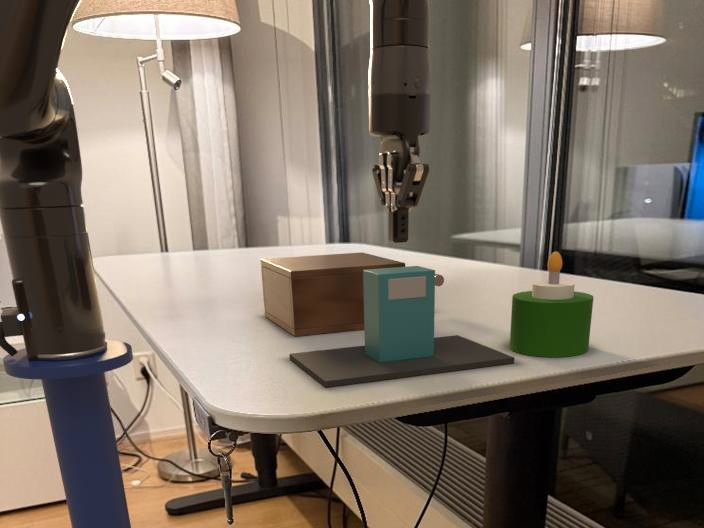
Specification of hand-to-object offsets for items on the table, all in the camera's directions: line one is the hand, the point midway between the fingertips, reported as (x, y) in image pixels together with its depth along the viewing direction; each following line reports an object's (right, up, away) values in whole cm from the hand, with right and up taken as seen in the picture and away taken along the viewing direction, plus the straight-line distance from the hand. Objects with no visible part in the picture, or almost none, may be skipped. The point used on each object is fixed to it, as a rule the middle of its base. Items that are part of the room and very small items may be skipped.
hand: (398, 241), depth 95 cm
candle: (+15, -17, -17) cm, 29 cm away
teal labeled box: (-1, -19, -21) cm, 28 cm away
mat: (-1, -19, -20) cm, 28 cm away
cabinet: (-9, -10, 0) cm, 14 cm away
